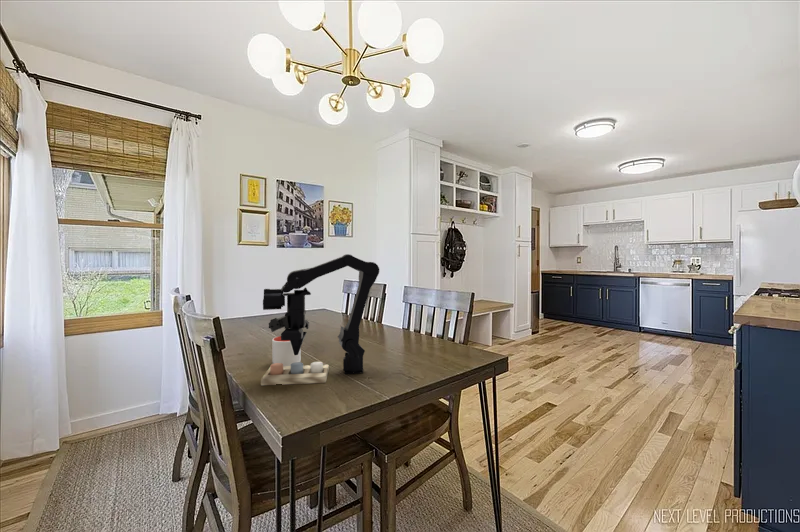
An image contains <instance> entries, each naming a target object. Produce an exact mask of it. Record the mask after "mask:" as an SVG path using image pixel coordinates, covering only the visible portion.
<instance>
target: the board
mask: <svg viewBox="0 0 800 532" xmlns="http://www.w3.org/2000/svg"><path fill="white" fill-rule="evenodd" d="M329 371H330V366H329V364H323V373H311V364H310V365H308V364H307V365H303V374H291V366H283V375H270V367H269V368H268V369H267V370H266V372H265V373H264V375H263V376H262V377H261V378H260V386H277V385H276V384H282V385H301V384H302V385H304V384H305V385H306V384H324V383H325V384H326V383H327V378H328V376H329V375H328V374H329Z"/></svg>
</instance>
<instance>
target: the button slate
mask: <svg viewBox="0 0 800 532" xmlns="http://www.w3.org/2000/svg"><path fill="white" fill-rule="evenodd" d="M303 366H304V363H303V362H302V361H300V362H296V363H292V364H291V374H303Z"/></svg>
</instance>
